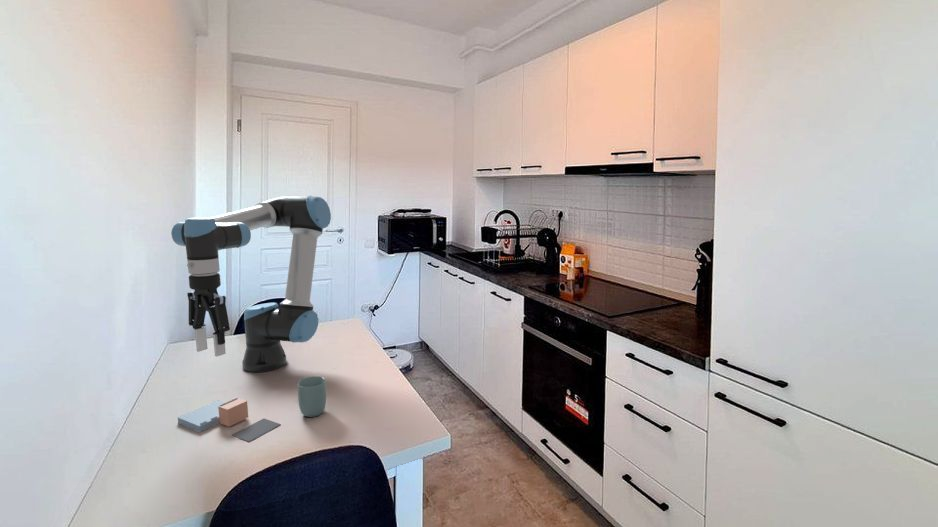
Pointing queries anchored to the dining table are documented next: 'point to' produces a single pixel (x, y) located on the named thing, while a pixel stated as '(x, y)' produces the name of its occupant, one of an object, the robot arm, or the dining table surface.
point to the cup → (312, 395)
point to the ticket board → (202, 417)
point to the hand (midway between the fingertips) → (211, 352)
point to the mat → (256, 430)
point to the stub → (233, 411)
